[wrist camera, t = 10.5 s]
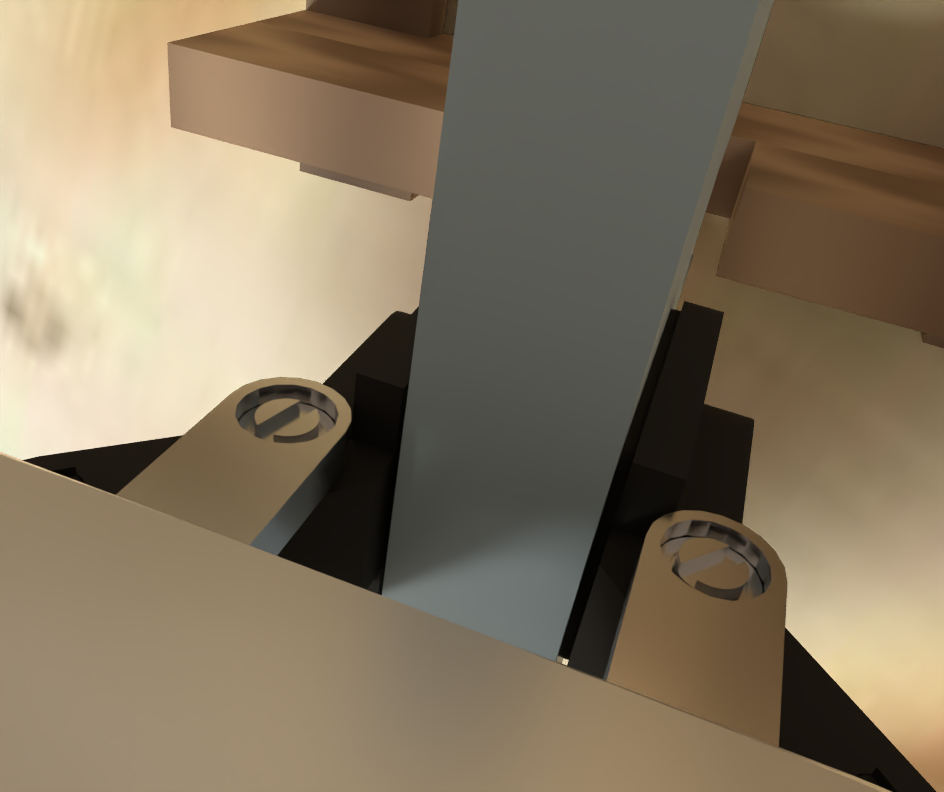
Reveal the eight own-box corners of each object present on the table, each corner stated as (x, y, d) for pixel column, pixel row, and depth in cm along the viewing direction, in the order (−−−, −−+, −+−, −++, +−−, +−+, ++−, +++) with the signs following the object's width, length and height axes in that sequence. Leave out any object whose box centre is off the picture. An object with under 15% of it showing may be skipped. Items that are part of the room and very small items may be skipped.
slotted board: (316, 161, 29) (175, 238, 23) (330, -105, 25) (161, -103, 19) (1062, 363, 25) (1150, 532, 18) (1238, 80, 20) (1438, 169, 14)
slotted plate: (757, -325, 15) (580, -932, 4) (872, -309, 15) (1049, -940, 3) (554, 463, 25) (336, 939, 14) (620, 484, 25) (452, 993, 13)
